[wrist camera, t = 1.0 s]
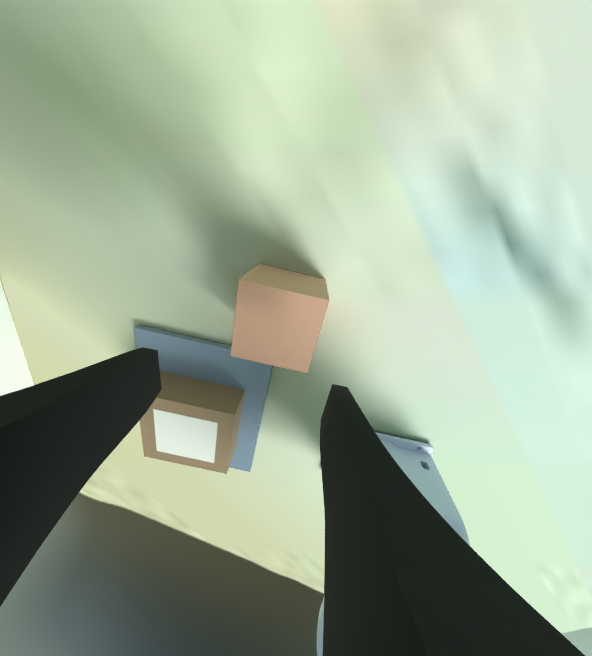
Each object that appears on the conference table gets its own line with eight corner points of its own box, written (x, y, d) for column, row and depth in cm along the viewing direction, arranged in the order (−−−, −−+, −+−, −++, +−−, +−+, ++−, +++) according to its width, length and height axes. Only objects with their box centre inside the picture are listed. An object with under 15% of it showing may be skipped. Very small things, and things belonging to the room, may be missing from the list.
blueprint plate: (274, 355, 20) (266, 382, 16) (251, 466, 27) (242, 501, 23) (138, 324, 19) (103, 345, 16) (150, 445, 26) (127, 477, 23)
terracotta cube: (325, 279, 17) (329, 300, 12) (309, 336, 19) (307, 373, 14) (259, 263, 17) (238, 279, 12) (250, 323, 19) (230, 355, 14)
